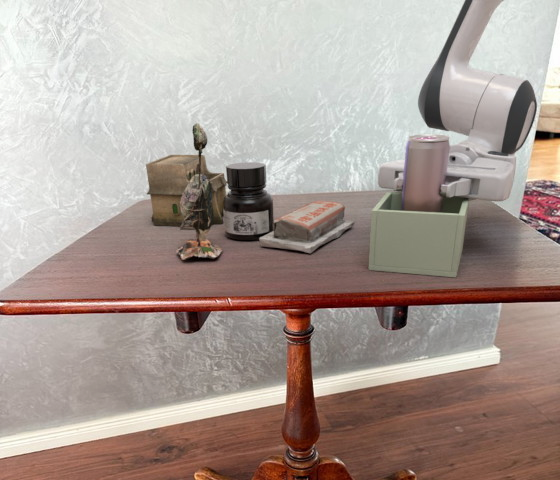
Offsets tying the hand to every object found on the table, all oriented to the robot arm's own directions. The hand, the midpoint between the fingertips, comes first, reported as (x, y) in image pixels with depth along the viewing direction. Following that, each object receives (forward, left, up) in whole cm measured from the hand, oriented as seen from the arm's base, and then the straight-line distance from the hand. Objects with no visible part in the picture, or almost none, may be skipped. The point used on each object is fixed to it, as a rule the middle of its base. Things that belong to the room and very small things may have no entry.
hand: (421, 188), depth 78 cm
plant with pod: (+35, +4, -11) cm, 37 cm away
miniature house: (+47, -15, -11) cm, 50 cm away
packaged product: (+20, -9, -11) cm, 24 cm away
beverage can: (0, -1, -8) cm, 9 cm away
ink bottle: (+31, -8, -11) cm, 34 cm away
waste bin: (0, -1, -11) cm, 11 cm away
